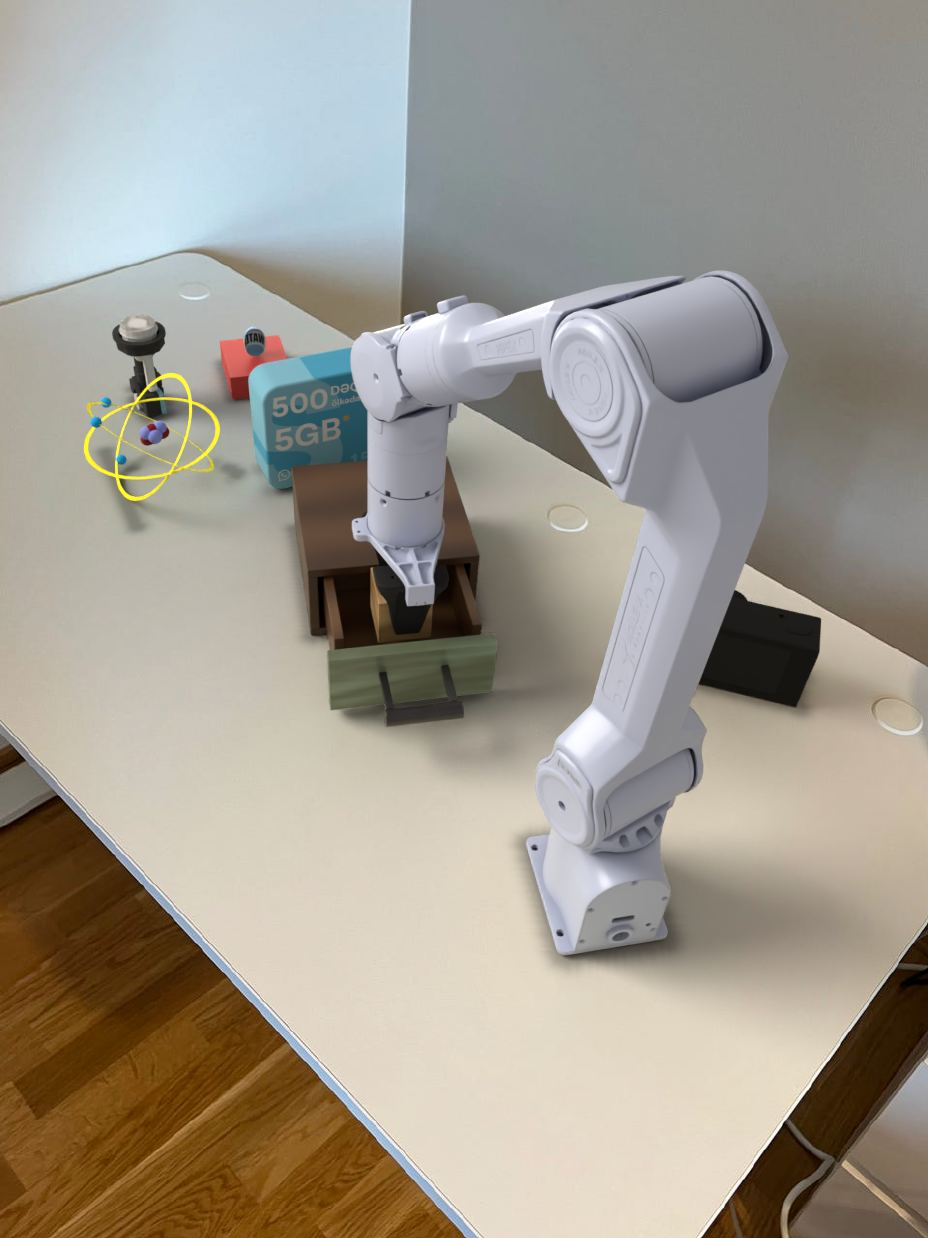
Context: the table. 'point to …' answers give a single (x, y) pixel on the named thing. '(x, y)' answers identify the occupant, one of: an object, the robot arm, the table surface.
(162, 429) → the atom model
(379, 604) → the block
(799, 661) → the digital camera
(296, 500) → the cabinet
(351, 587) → the drawer
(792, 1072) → the table surface
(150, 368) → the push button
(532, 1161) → the table surface
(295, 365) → the data package
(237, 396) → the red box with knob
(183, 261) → the table surface
